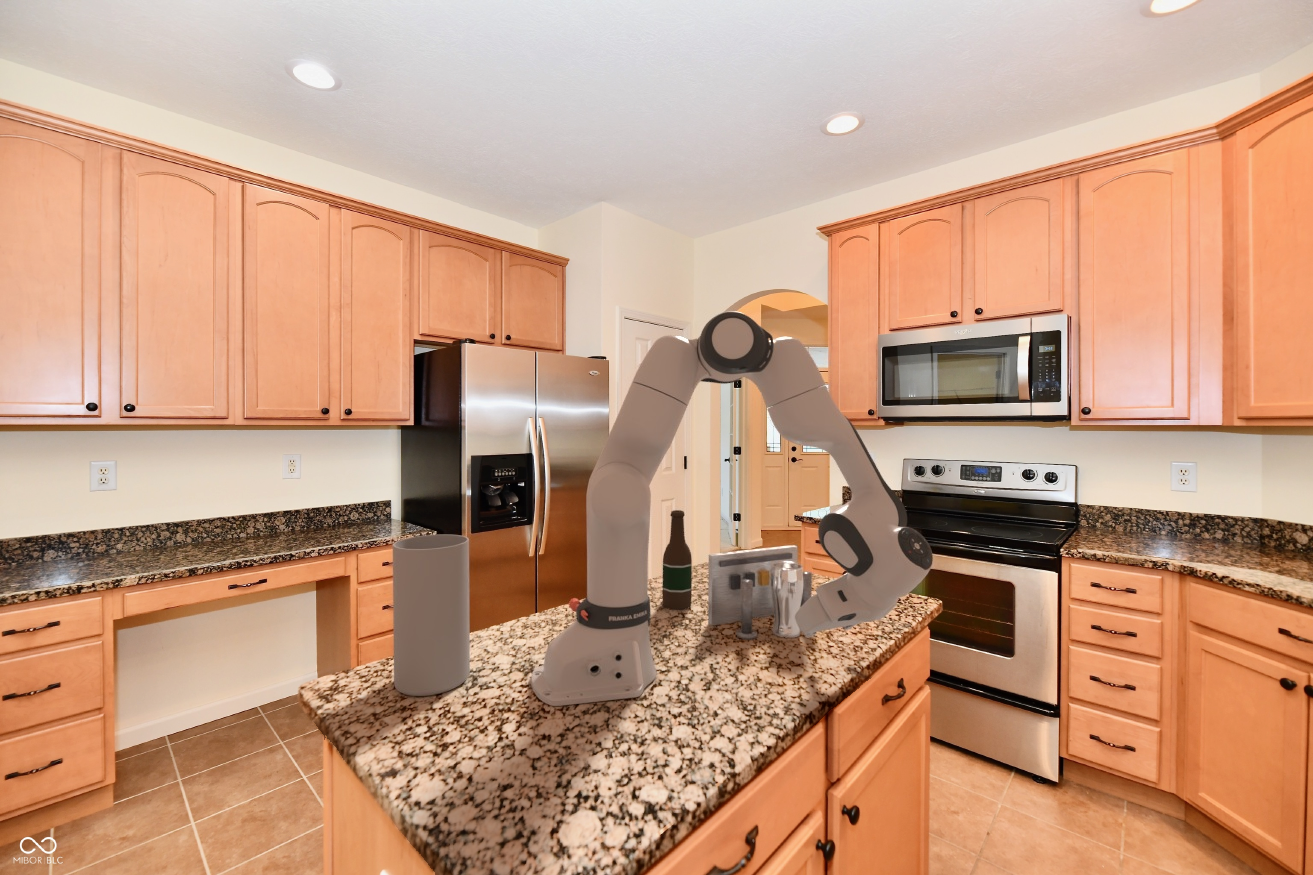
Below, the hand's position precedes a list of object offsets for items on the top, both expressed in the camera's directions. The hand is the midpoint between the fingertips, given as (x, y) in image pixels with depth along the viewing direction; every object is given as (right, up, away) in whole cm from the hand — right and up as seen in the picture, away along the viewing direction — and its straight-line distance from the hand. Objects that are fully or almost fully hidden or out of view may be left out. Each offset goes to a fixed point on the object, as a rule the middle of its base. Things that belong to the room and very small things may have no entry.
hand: (826, 629), depth 108 cm
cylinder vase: (-73, -6, -10) cm, 74 cm away
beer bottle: (-28, -5, +31) cm, 42 cm away
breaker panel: (-10, -5, +23) cm, 25 cm away
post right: (+1, -5, +18) cm, 18 cm away
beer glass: (-5, -5, +13) cm, 15 cm away
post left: (-14, -5, +11) cm, 18 cm away
